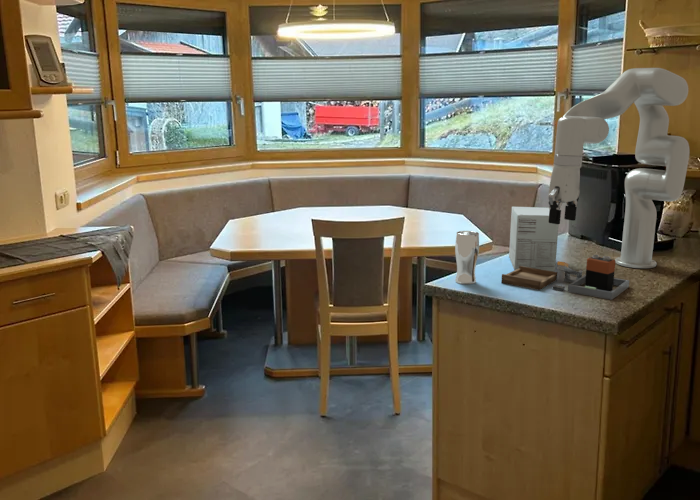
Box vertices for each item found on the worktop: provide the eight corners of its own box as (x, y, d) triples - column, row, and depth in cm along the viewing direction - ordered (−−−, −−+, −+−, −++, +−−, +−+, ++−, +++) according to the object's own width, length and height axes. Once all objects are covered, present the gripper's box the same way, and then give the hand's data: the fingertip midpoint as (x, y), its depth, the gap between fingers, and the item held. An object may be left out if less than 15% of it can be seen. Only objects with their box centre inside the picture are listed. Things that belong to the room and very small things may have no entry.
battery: (605, 293, 191) (609, 259, 189) (583, 288, 196) (586, 255, 193) (613, 290, 194) (616, 256, 191) (591, 285, 199) (594, 252, 196)
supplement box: (556, 272, 213) (560, 216, 209) (513, 270, 215) (516, 215, 211) (547, 259, 230) (551, 206, 226) (507, 257, 232) (511, 205, 227)
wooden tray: (519, 273, 211) (520, 265, 210) (556, 280, 204) (557, 272, 203) (501, 282, 201) (501, 274, 200) (539, 290, 194) (540, 281, 193)
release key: (569, 274, 203) (571, 267, 203) (576, 275, 202) (577, 268, 202) (556, 268, 193) (557, 261, 193) (563, 269, 192) (564, 262, 192)
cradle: (586, 279, 204) (587, 272, 204) (628, 287, 197) (629, 279, 197) (567, 291, 192) (568, 283, 192) (611, 299, 185) (612, 291, 184)
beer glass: (472, 286, 197) (474, 236, 194) (450, 282, 201) (452, 233, 197) (480, 280, 203) (483, 232, 200) (459, 277, 207) (461, 229, 203)
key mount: (567, 278, 206) (568, 267, 205) (582, 281, 203) (583, 270, 202) (549, 288, 195) (550, 277, 194) (565, 291, 192) (565, 280, 191)
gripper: (569, 159, 198) (563, 216, 201) (540, 162, 185) (535, 223, 189) (593, 161, 193) (587, 220, 196) (566, 164, 180) (560, 227, 184)
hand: (562, 221), depth 192 cm, fingers open, 9 cm apart
